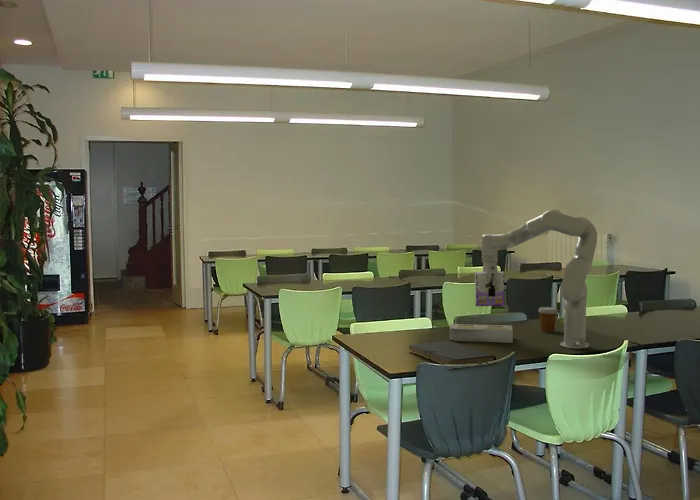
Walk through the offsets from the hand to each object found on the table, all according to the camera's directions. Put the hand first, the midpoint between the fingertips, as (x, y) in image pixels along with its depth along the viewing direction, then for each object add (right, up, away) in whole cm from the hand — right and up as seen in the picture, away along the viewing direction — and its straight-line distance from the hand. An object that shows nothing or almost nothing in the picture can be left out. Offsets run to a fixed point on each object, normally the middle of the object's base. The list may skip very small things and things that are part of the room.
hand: (489, 294), depth 330 cm
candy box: (0, -5, 0) cm, 5 cm away
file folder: (-25, -25, -36) cm, 51 cm away
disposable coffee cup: (+33, -20, +16) cm, 42 cm away
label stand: (-5, -22, -1) cm, 22 cm away
